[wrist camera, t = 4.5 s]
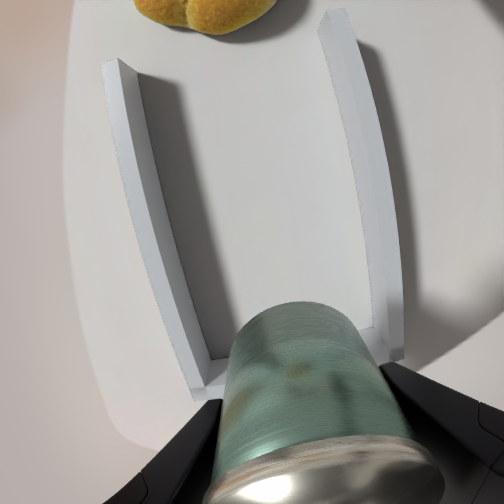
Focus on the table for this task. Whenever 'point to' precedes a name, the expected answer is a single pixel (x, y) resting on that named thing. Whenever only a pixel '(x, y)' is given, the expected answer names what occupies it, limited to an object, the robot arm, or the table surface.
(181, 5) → the bread roll
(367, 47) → the table surface
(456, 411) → the robot arm
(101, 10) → the table surface
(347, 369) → the tea tin
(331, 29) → the u-shaped frame
